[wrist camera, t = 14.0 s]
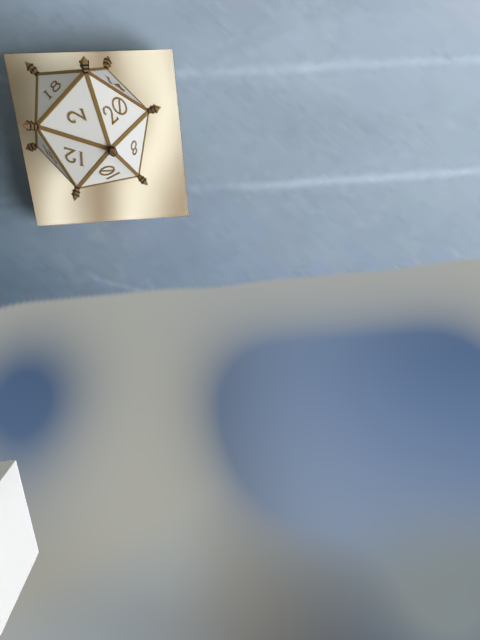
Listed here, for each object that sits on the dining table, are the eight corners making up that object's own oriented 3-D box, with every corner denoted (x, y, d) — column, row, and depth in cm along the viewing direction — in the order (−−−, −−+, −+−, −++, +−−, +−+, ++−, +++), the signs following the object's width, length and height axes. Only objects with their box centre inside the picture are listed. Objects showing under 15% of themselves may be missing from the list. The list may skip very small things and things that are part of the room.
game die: (108, 123, 33) (100, -10, 24) (175, 192, 32) (193, 80, 23) (9, 167, 29) (-44, 26, 20) (83, 246, 28) (62, 136, 19)
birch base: (54, 225, 35) (37, 225, 31) (26, 74, 31) (3, 54, 28) (188, 215, 36) (188, 215, 32) (174, 69, 33) (172, 49, 29)
